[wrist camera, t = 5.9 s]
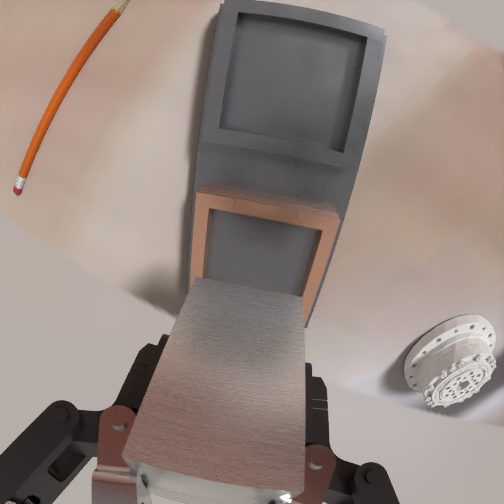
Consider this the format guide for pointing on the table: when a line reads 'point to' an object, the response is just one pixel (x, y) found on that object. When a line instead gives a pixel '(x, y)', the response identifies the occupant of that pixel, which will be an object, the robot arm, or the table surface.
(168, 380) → the block
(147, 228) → the table surface
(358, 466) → the robot arm
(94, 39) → the pencil
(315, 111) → the double frame tray
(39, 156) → the table surface
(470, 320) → the mechanical component
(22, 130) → the table surface
